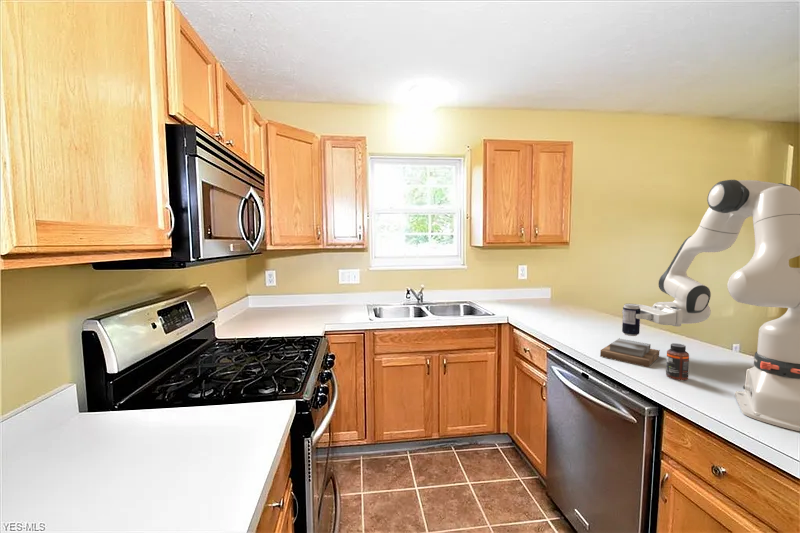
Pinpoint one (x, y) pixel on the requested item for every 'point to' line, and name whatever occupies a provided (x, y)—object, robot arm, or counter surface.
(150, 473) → the counter surface
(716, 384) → the counter surface
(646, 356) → the plinth
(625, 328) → the beverage can
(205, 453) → the counter surface
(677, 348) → the supplement bottle
